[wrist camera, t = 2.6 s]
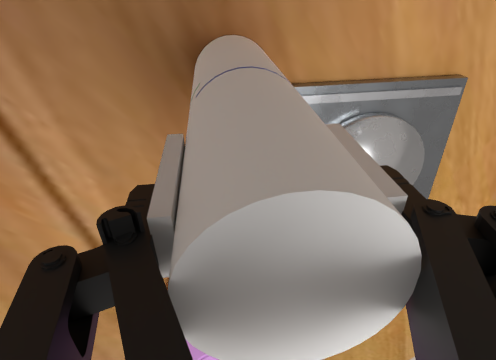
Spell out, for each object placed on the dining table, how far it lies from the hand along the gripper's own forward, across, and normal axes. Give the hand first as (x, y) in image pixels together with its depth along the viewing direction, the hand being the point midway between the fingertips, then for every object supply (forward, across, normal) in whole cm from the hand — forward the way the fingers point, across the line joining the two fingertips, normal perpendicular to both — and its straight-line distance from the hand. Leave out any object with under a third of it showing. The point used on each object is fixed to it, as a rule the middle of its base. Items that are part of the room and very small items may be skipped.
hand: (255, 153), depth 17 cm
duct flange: (+16, +14, -10) cm, 24 cm away
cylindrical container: (+16, 0, 0) cm, 16 cm away
